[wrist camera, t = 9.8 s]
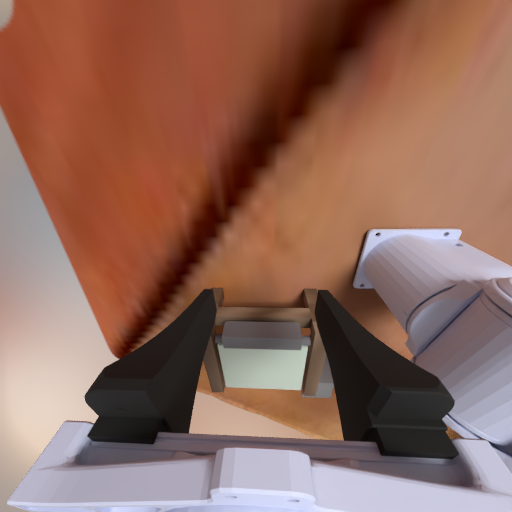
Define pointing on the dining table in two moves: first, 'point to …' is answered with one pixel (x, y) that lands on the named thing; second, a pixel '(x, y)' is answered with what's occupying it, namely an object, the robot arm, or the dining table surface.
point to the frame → (263, 314)
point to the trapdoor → (263, 354)
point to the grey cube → (324, 382)
